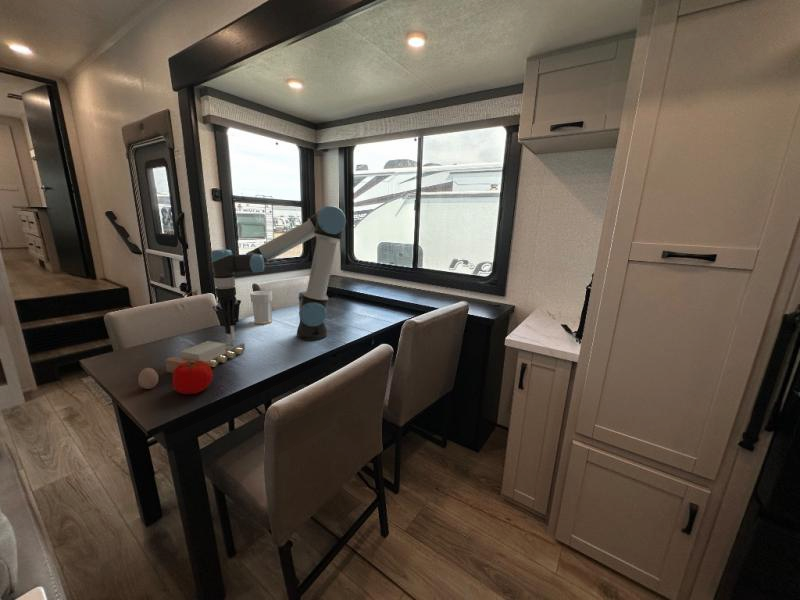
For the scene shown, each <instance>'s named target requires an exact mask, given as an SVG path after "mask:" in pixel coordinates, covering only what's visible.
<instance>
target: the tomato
mask: <svg viewBox="0 0 800 600" xmlns="http://www.w3.org/2000/svg"><path fill="white" fill-rule="evenodd" d="M213 378H214V371H213V370H212V366H211V367H210V366H209V365H208V364H207V363H206V362H204V361H201V360H198V361H195V362H192V361H191V362H189V361H188V362H185V363H182V364H180V365H179V366H178V367H177V368H176V369H175V370H174V373H172V387H173V388H174V390H176V392H178V393H179V394H183V395H193V394H194V395H195V394H198V393H201V392H203V391H204V390H206V389H207V388H208V387H209V385H210V384H211V383H212V381H213Z"/></svg>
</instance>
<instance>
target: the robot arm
mask: <svg viewBox="0 0 800 600" xmlns="http://www.w3.org/2000/svg"><path fill="white" fill-rule="evenodd" d="M346 224H347V219H346V214H345V213H344V211H343V210H342V209H341V208H339V207H338V206H336V205H329V204H328V205H325V206H323V207H321V208H320V209H319V210H318V211H317V212H316V213H315V214H313V215H312V216H309V217H308V218H307V221H305V222H303V223H301V224H299V225H297V226H296V227H294V228H292V229H290V230H288V231H286V232H284V233H283V234H281V235H279V236H277V237H274V238H273V239H271V240H270V241H268V242H265V243H263V244H262V245H260V246H258V247H256V248H254V249H253V250H250V251H247V252H246V253H245V254H233V253H232V250H231V249H214V250H212V251H210V253H211V254H210V255H211V267H212V272H213V273H212V274H213V281H214V282H213V283H214V287H215V289H214V290H215V297H217V301H216V303H217V304H216V305H213V306H212V309H213V310H214V311H215V314H216V317H217V320H218V322H219V326H221V327H224V328H225V333H226V335H227V337H226V338H227V341H229V342H230V341H231V342H233V341H236V333H235V332H236V326H237V325H238V323H239V318H240V306H241V303H242V300H241V299H237V297H236V295H237V289H236V281H235V274H237V273H260V272H261V273H262V272H264V271H265V264H266V263H268V262H270V261H271V260H273V259H275V258H277V257H279V256H281V255H282V254H285V253H286V252H289V251H290V250H291V249H294V248H295V247H299V245H301V244H303V243H305V242H306V241H309V240H310V239H312V238H315V237H316V243H315V247H314V252H313V253H314V254H313V256H312V257H313V258H312V264H311V267H310V272H309V273H310V274H309V279H308V281H307V283H308V285H307V287H306V290H305V291H300V292H298V306H299V307H298V316H299V323H298V327H297V330H296V337H297V338H298V339H299V340H303V341H315V340H316V341H317V340H322V339H325V337H327V336H328V328H327V326H326V323H325V321H326V318H327V315H328V313H327V308H328V303H329V296H328V295H327V291H328V287H329V286H328V285H329V283H330V282H329V281H330V275H331V272H332V271H331V270H332V267H333V261H334V257H335V252H336V246H337V243H339V242H340V241H341V239H342V236H343V235H342V234H343V230H344V229H345V227H346Z"/></svg>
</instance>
